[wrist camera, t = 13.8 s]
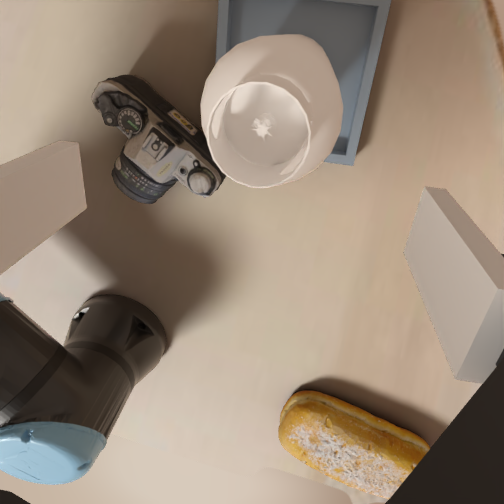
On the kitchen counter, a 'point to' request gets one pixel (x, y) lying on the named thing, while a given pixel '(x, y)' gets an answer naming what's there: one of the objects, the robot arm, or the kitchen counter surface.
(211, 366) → the kitchen counter surface
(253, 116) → the bottle
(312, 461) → the bread
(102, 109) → the camera
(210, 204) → the kitchen counter surface
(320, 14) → the tray
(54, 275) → the kitchen counter surface
